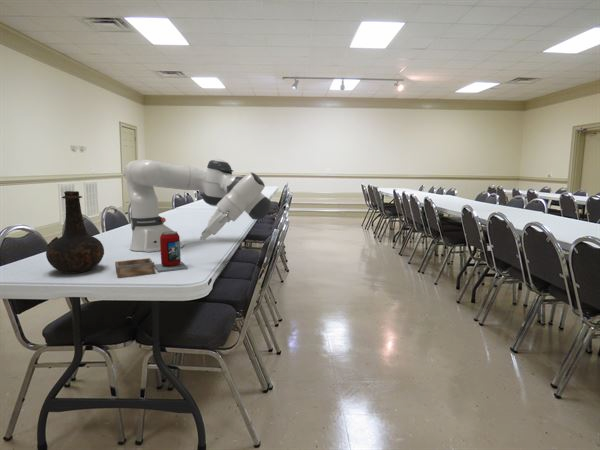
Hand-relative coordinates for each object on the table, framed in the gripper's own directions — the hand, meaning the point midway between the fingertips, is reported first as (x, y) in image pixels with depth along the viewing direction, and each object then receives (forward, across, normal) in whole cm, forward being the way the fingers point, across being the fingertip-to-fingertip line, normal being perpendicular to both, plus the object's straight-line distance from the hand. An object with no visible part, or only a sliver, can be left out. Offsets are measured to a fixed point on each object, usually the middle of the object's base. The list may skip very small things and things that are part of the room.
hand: (201, 237), depth 146 cm
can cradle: (+24, -4, +9) cm, 25 cm away
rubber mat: (+15, 0, +1) cm, 16 cm away
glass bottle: (+38, +3, +23) cm, 45 cm away
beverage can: (+15, +1, +1) cm, 15 cm away
